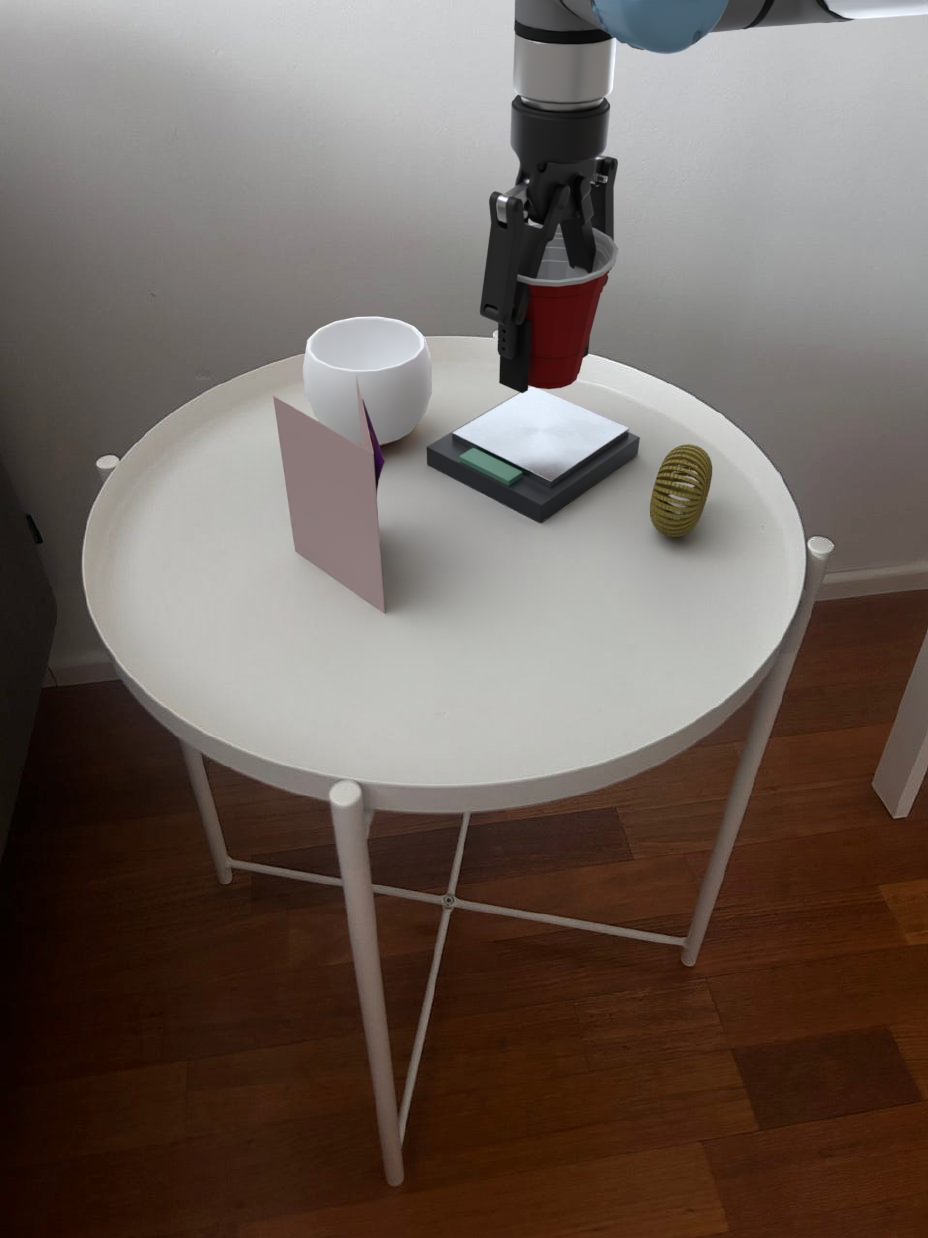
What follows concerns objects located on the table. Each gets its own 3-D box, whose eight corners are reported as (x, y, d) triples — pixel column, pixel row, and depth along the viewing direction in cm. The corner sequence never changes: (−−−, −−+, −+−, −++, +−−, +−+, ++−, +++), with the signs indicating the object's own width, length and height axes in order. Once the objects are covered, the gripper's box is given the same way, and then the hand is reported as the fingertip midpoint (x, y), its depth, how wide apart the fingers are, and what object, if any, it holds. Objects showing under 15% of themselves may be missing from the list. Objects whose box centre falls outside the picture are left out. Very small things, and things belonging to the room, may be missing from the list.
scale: (637, 454, 98) (641, 429, 96) (540, 523, 90) (542, 497, 88) (526, 404, 105) (527, 380, 103) (426, 464, 97) (425, 439, 95)
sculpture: (665, 498, 92) (677, 422, 87) (708, 509, 91) (724, 433, 86) (638, 547, 87) (650, 469, 82) (684, 560, 86) (699, 481, 80)
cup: (287, 425, 102) (275, 336, 95) (389, 388, 107) (385, 302, 101) (352, 481, 94) (343, 389, 88) (458, 439, 100) (458, 349, 93)
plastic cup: (468, 391, 90) (469, 260, 82) (510, 339, 97) (514, 213, 89) (585, 415, 87) (597, 281, 79) (619, 359, 94) (633, 231, 86)
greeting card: (395, 611, 81) (385, 452, 71) (302, 623, 80) (279, 463, 70) (378, 527, 89) (367, 373, 79) (293, 536, 88) (271, 382, 78)
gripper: (603, 60, 84) (581, 317, 99) (430, 116, 72) (435, 397, 88) (679, 76, 80) (644, 341, 95) (510, 139, 69) (501, 428, 84)
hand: (544, 368), depth 92 cm, fingers closed on plastic cup, 8 cm apart
